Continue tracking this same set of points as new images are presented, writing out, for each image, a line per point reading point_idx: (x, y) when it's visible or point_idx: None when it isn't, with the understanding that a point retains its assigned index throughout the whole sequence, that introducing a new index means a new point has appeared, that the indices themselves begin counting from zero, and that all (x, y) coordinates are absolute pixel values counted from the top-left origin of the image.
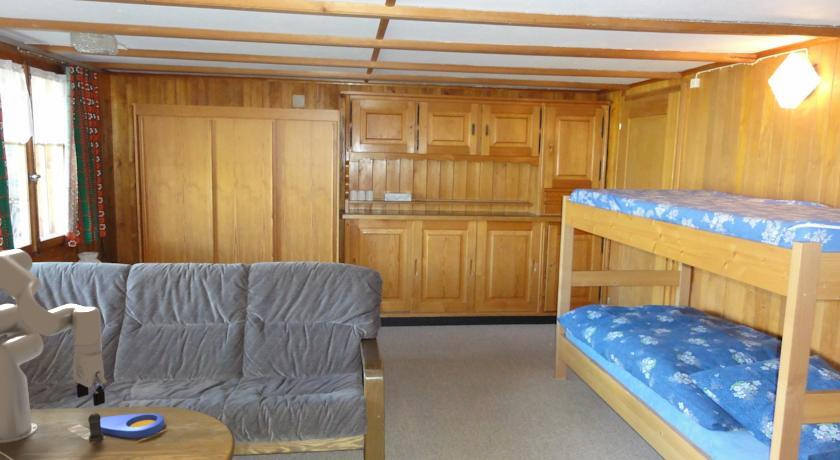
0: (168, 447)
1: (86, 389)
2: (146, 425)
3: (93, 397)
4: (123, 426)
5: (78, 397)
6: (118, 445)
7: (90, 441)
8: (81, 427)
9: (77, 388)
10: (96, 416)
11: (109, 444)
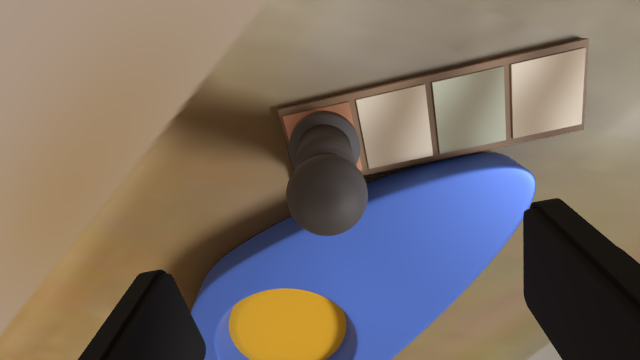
0: (58, 330)
1: (564, 346)
2: (213, 345)
3: (95, 353)
4: (287, 275)
5: (533, 203)
6: (197, 202)
7: (310, 113)
8: (530, 121)
9: (630, 288)
10: (294, 214)
11: (235, 176)
